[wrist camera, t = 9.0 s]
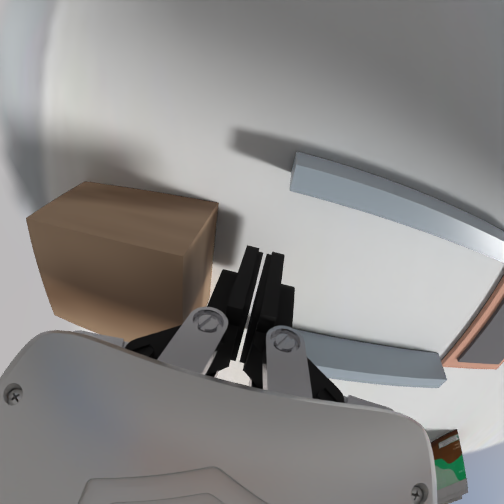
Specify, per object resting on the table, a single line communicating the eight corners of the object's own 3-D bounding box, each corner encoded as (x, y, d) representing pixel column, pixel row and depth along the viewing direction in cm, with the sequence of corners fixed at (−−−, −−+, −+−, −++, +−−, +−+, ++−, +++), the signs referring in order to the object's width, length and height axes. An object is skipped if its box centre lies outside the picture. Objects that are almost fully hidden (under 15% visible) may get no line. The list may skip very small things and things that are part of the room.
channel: (296, 151, 12) (296, 164, 10) (514, 236, 11) (536, 259, 9) (248, 329, 17) (241, 360, 15) (430, 361, 17) (438, 387, 15)
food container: (413, 442, 25) (418, 509, 17) (457, 425, 23) (468, 492, 15) (420, 460, 30) (424, 511, 21) (455, 447, 28) (461, 498, 19)
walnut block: (86, 180, 14) (25, 218, 10) (219, 201, 14) (183, 256, 9) (97, 266, 17) (54, 314, 13) (210, 296, 17) (183, 362, 13)
